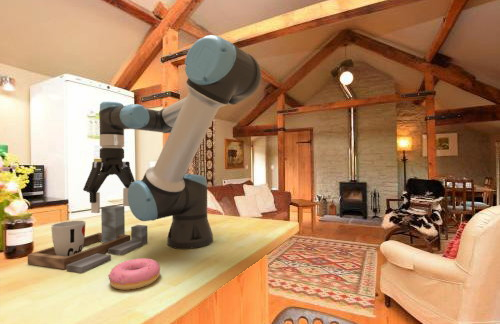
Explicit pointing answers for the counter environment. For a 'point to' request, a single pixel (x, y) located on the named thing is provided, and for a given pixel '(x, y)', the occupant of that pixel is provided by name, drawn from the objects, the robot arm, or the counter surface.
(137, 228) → the broken strip
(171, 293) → the counter surface
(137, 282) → the doughnut
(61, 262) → the wooden serving tray
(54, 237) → the cup
